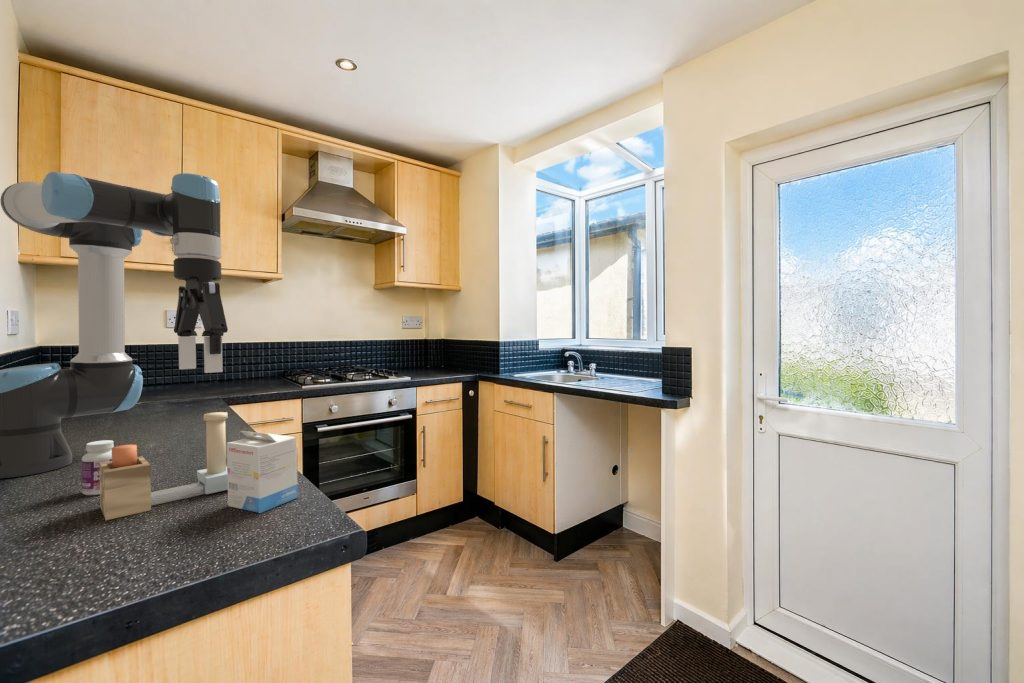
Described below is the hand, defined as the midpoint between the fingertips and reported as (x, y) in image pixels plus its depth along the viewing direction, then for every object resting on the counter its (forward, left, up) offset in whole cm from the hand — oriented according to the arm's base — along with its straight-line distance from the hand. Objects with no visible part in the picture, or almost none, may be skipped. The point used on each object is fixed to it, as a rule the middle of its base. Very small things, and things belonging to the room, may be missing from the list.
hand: (200, 370), depth 88 cm
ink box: (+13, +7, -24) cm, 28 cm away
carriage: (-1, +3, -24) cm, 24 cm away
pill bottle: (-16, -13, -24) cm, 32 cm away
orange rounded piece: (-1, -11, -16) cm, 20 cm away
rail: (-1, -1, -24) cm, 24 cm away
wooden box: (-1, -11, -24) cm, 26 cm away
